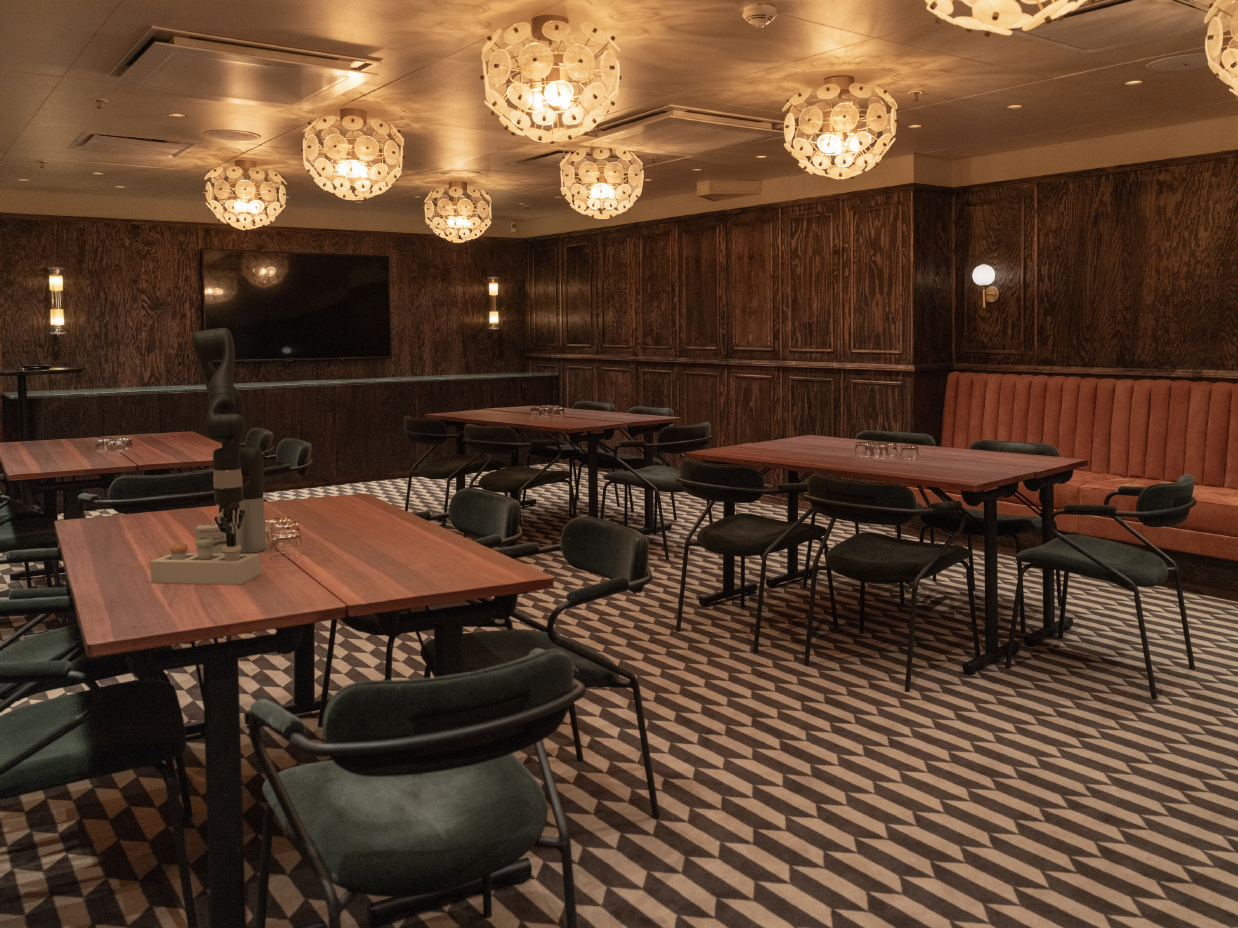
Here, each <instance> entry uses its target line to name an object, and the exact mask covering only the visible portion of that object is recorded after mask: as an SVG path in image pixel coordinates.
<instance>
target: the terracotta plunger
mask: <svg viewBox="0 0 1238 928" xmlns="http://www.w3.org/2000/svg"><path fill="white" fill-rule="evenodd" d="M188 546H189V545H188V544H186V543H176V544H171V545H169V546H168V551H169V552H170V554H171V560H184V559H186V558H187V555H186V553H187V550H189V548H188Z"/></svg>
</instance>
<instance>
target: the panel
mask: <svg viewBox="0 0 1238 928" xmlns="http://www.w3.org/2000/svg"><path fill="white" fill-rule="evenodd" d="M186 555H187V558H186V559H184V560H171V553H170V554H166V555H165V556H162V557H159V558H156V559H153V560H151V561H149V565H150V582H151V584H152V583H153V584H155V583H156V584H157V583H158V584H160V583H161V584H190V585H191V584H194V585H198V584H199V585H240V586H241V585H242V584H244V583H246V582H249V581H250V580H252V579H254V578H257V577H259V576H261V562H260V561H261V560H260V553H240V560H238V561H225V554H224V553H213V559H212V560H198V553H197V552H186Z"/></svg>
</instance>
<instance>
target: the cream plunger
mask: <svg viewBox="0 0 1238 928" xmlns="http://www.w3.org/2000/svg"><path fill="white" fill-rule="evenodd" d="M240 550H241V545H238V544H236V546H233V547H228V546H227V545H225V546H223V552H224V554H225V561H238V560H240V554H241V553H240Z"/></svg>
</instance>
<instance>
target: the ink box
mask: <svg viewBox="0 0 1238 928" xmlns="http://www.w3.org/2000/svg"><path fill="white" fill-rule="evenodd" d="M223 528H224V527H223ZM195 537H196V540H201V539H213V540H214V545H213V553H224V552H223V546H225V545H226V533H224V532H221V531H220V529H219V527H218V526H217V524H215V523H214V524H200V525H199V524H198V525H197V526H195ZM196 540H195V541H196ZM196 553H198V552H197V551H196Z"/></svg>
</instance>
